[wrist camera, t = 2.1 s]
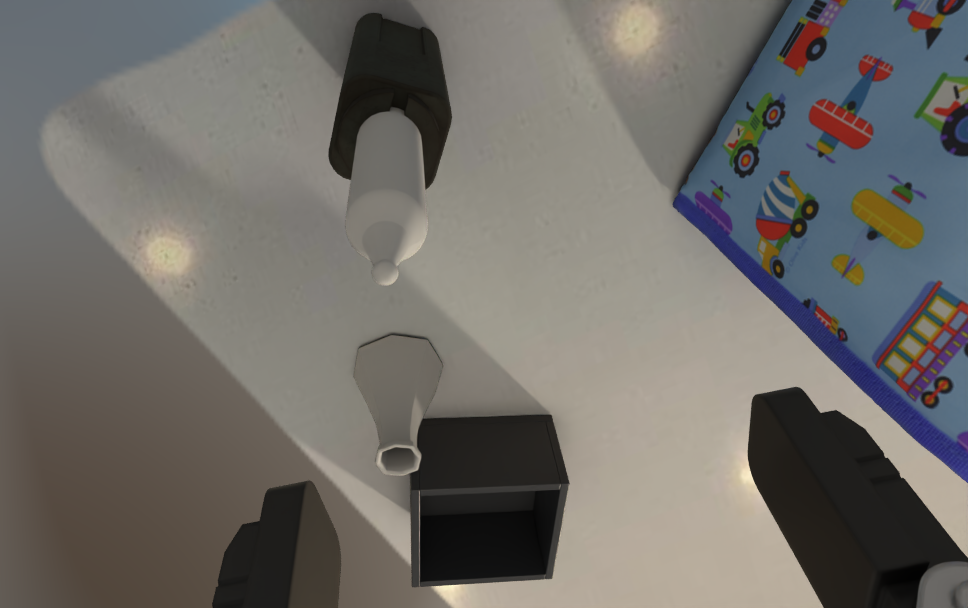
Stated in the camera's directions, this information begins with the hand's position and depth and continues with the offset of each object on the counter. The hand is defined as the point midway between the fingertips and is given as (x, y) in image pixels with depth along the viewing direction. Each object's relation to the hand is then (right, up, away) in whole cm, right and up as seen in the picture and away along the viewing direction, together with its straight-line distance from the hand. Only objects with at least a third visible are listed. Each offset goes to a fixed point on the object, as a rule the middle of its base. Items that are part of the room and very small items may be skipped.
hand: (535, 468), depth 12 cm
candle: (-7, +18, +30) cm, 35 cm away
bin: (-1, -12, +50) cm, 52 cm away
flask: (-8, -2, +43) cm, 44 cm away
